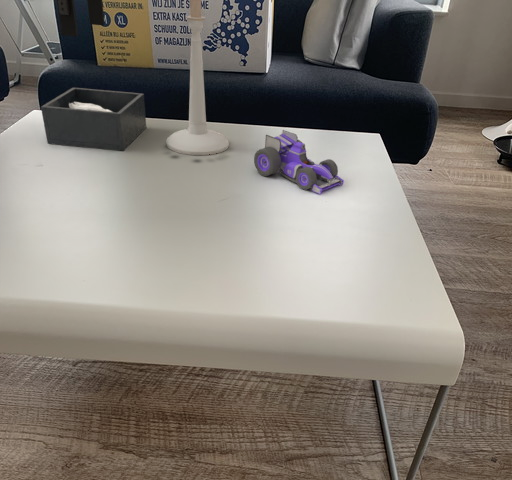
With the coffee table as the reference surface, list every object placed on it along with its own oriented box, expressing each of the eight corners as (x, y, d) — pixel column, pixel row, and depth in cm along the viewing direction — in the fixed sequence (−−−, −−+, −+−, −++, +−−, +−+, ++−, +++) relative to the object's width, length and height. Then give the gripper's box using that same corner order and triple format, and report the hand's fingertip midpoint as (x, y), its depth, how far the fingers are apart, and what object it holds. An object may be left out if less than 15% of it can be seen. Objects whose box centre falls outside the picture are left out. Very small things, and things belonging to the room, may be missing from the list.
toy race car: (315, 197, 94) (319, 159, 90) (252, 172, 102) (254, 136, 98) (347, 183, 99) (353, 148, 95) (286, 160, 107) (289, 126, 103)
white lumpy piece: (73, 138, 112) (117, 130, 110) (63, 102, 110) (108, 94, 107) (84, 135, 117) (126, 128, 114) (74, 101, 114) (118, 93, 112)
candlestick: (233, 137, 117) (237, -31, 98) (222, 158, 107) (224, -26, 88) (175, 132, 118) (168, -36, 99) (158, 151, 108) (147, -31, 89)
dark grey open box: (47, 143, 108) (40, 106, 104) (77, 121, 121) (72, 87, 116) (123, 151, 107) (119, 113, 103) (146, 127, 119) (143, 93, 115)
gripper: (57, -122, 79) (78, 43, 92) (114, -113, 98) (125, 22, 111) (7, -126, 79) (35, 38, 92) (74, -116, 99) (89, 19, 112)
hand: (84, 30), depth 102 cm, fingers open, 13 cm apart
